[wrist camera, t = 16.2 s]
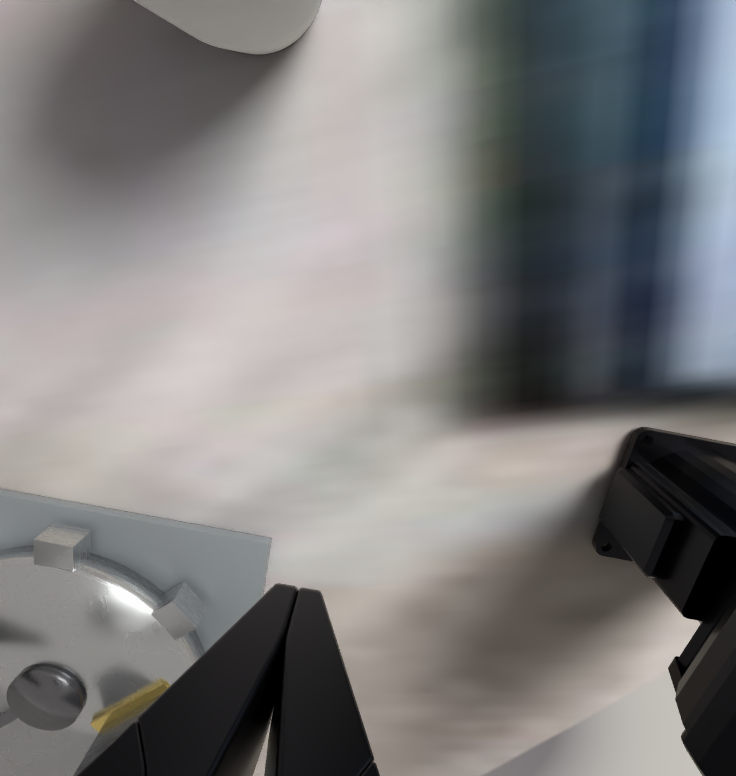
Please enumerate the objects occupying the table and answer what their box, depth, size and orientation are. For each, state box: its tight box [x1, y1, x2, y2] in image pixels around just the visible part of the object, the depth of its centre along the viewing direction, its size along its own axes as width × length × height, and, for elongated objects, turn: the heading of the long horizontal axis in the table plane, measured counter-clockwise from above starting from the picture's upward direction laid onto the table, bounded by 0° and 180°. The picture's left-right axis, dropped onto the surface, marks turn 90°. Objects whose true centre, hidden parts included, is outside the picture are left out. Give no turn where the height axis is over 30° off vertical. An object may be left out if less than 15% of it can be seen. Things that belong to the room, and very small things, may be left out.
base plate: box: [0, 489, 272, 652], centre depth 25 cm, size 19×19×1 cm
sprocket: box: [0, 522, 207, 776], centre depth 20 cm, size 18×18×10 cm
